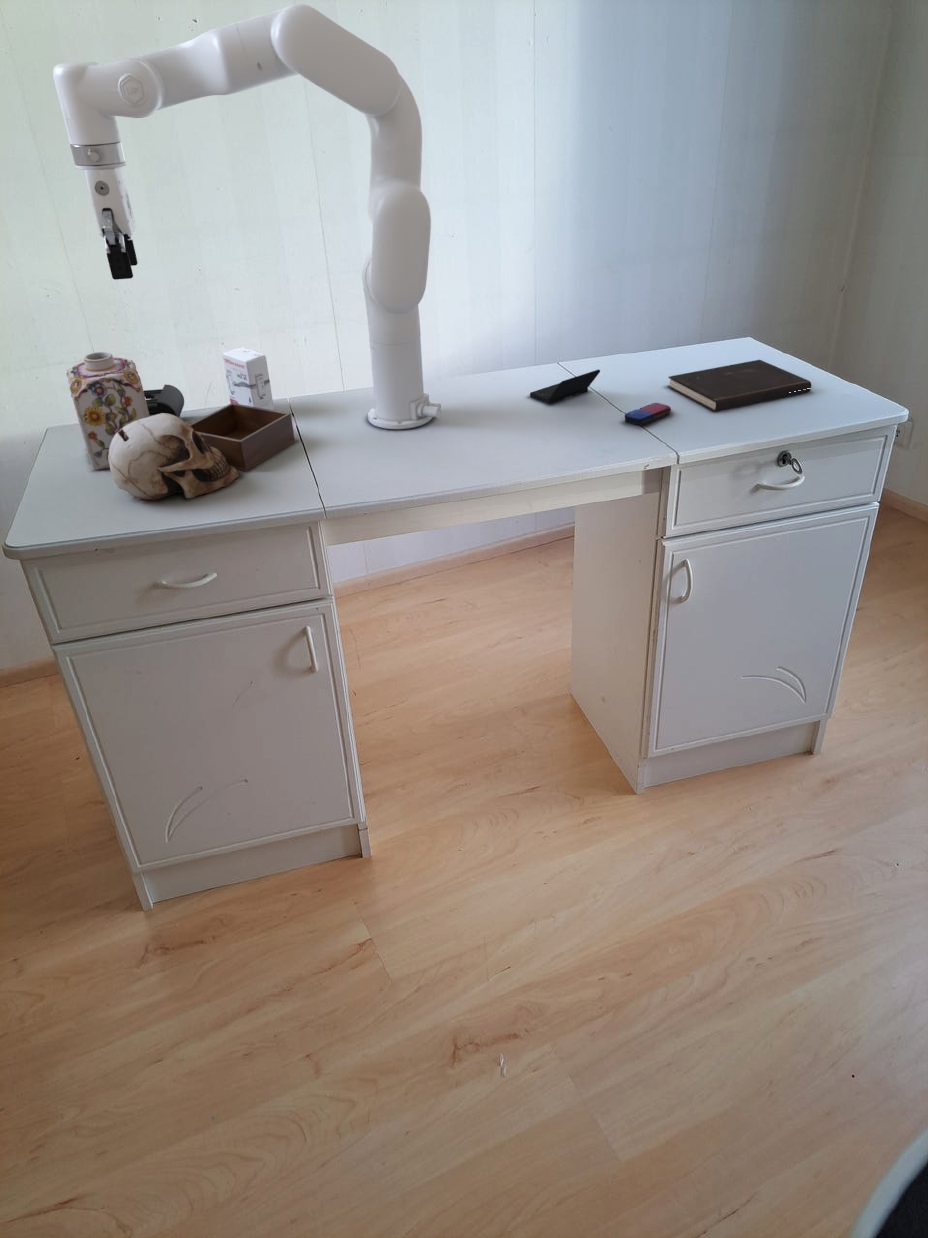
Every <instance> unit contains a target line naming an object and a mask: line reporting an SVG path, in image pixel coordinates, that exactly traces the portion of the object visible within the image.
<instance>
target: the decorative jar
mask: <svg viewBox="0 0 928 1238" xmlns="http://www.w3.org/2000/svg"><path fill="white" fill-rule="evenodd" d="M66 378H67V379H68V380H67V381H68V384H69V385H68V386H69V391H70V397H71V400H72V402H73V405H74V410H75V413H76V417H77V419H78V423H79V426H80V431H81V434H82V437H83V441H84V445H85V448H86V452H87V454H88V458H89V461H90V465H91V468H92V470H94V471H100V470H105V469H110V464H109V460H108V455H109V448H110V444H111V442H112V439H113V437H114V436H115V434H116V433H117V432H118V431H119V430H121V429H122V428H123V427H125V426H126V425H128V424H130V423H132V422H134V421H136V420H139V419H143V418H147V417H149V416H150V415H149V412H148V407H147V403H146V400H147V399H146V398H145V396H144V392H143V391H144V389H143V388H144V387H143V385H142V380H141V377H140V375H139V372H138V370H137V365H136V363H135V362H134V361H133V360H132V359H128V358H123V357H118V356H117V357H114V355H113V354H112V353H111V352H107V351H96V352H91V353H88V354H86V355H84V356H83V361H82V362H80V363H78V364H76V365H73V366H72V367H69V368H68V369H67V370H66Z"/></svg>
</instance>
